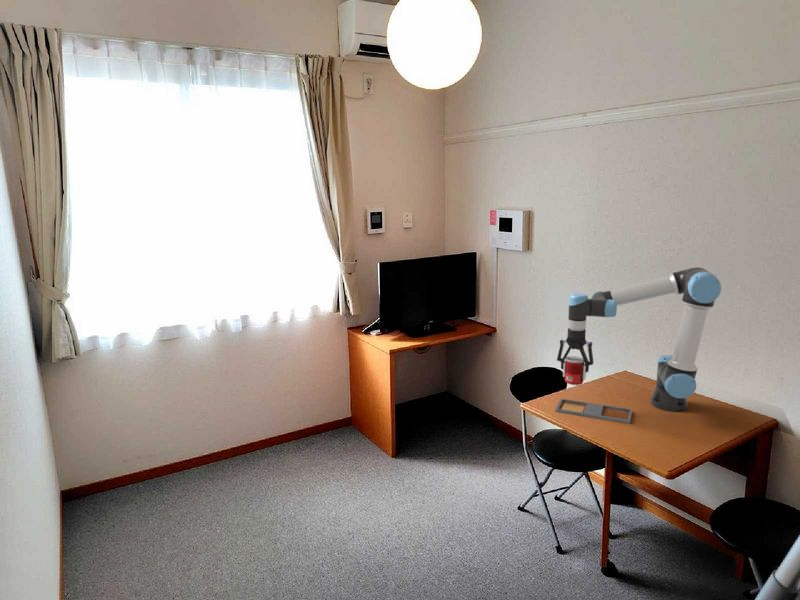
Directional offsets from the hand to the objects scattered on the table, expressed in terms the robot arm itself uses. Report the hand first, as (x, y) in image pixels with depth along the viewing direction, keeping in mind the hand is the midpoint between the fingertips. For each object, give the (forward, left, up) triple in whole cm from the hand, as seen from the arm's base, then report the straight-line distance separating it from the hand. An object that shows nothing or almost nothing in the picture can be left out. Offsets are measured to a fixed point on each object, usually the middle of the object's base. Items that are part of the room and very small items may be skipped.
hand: (574, 377), depth 246 cm
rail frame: (-9, 0, -15) cm, 18 cm away
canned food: (0, 0, -2) cm, 2 cm away
